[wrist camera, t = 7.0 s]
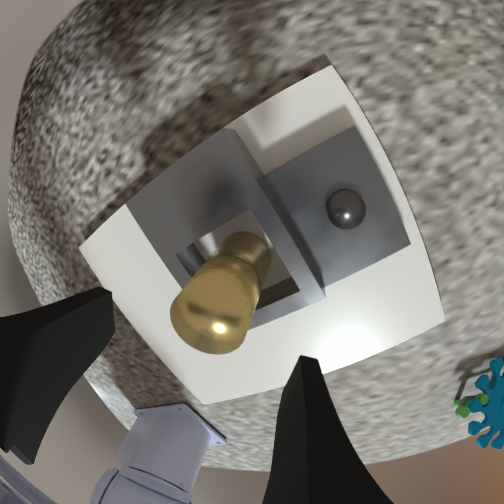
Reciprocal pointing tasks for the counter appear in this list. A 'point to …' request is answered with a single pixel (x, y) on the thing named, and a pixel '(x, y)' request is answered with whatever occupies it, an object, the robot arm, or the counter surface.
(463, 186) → the counter surface
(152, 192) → the plate
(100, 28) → the counter surface
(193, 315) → the pin
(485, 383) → the gear
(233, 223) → the mat
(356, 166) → the plate
